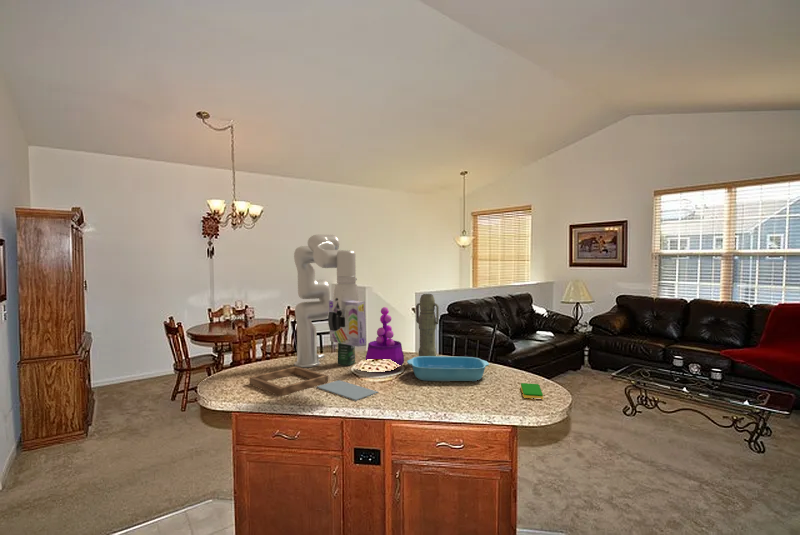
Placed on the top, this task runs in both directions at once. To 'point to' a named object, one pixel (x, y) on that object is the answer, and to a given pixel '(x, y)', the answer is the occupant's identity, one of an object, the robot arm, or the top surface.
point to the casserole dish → (448, 368)
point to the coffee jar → (346, 354)
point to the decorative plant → (385, 342)
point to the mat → (347, 390)
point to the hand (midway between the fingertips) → (346, 325)
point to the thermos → (427, 324)
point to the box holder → (281, 391)
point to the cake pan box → (349, 324)
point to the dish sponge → (531, 390)
